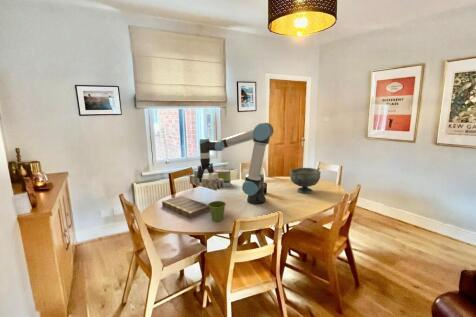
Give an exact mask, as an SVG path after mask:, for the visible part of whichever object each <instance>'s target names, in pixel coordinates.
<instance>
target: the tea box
mask: <svg viewBox="0 0 476 317" xmlns="http://www.w3.org/2000/svg"><path fill="white" fill-rule="evenodd" d="M214 173H218V178H221V179H224V187H230V185H231V169H215V170H214Z"/></svg>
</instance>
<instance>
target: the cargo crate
mask: <svg viewBox="0 0 476 317" xmlns="http://www.w3.org/2000/svg"><path fill="white" fill-rule="evenodd" d="M214 172H215V171H214ZM214 172H213V173H210V174H209V173H208V176H209V179H211V180H216V179H218V173H214Z"/></svg>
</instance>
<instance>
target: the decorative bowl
mask: <svg viewBox="0 0 476 317" xmlns="http://www.w3.org/2000/svg"><path fill="white" fill-rule="evenodd" d="M289 176H290V177H289V178H290V182H292V183H293V184H294V185H297V186H298V189H297V190H296V191H297V193H301V194H303V195H305V194H307V195H309V194H311V193H313V190H312V189H311V188H310V187H313V186H315V185H317V184H318V183H319V181H320V179H321V171H320V170H319V169H316V168H312V167H298V168H297V167H296V168H293V169H290V170H289Z"/></svg>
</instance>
